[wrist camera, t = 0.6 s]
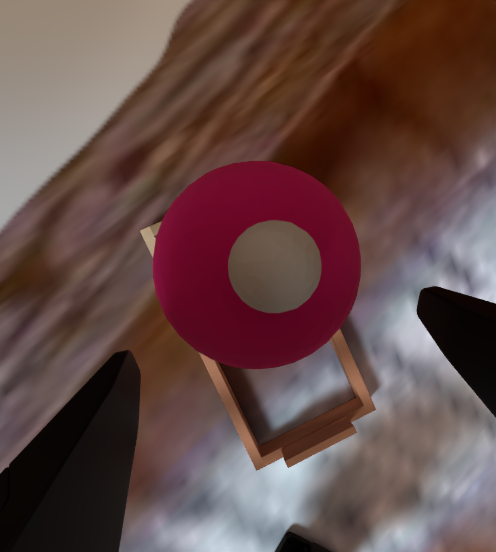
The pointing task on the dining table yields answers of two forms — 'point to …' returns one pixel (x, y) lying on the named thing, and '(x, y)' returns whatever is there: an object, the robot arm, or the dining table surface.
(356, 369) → the rack
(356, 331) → the dining table surface
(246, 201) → the pepper mill
